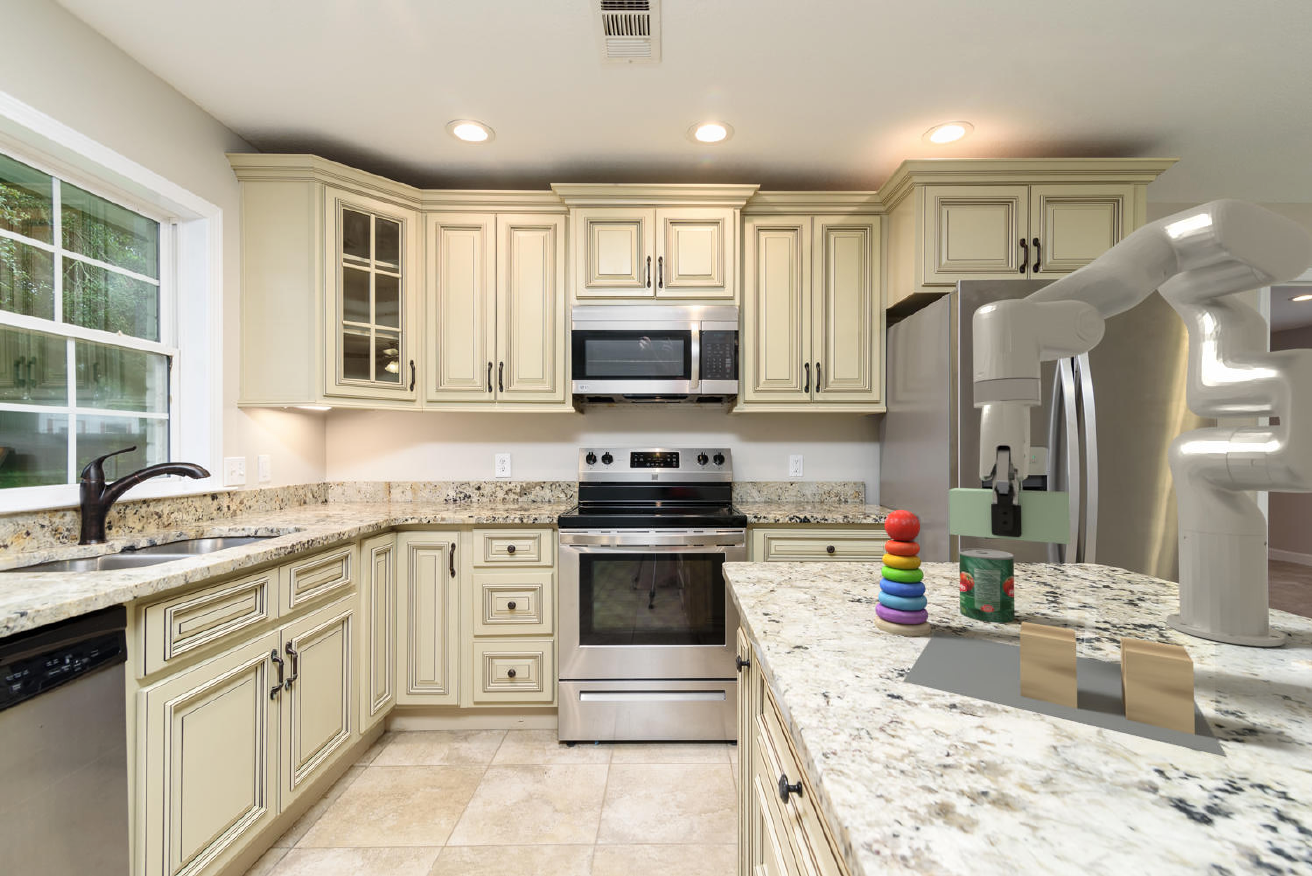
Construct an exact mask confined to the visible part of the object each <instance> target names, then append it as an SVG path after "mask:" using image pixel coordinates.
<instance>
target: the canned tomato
mask: <svg viewBox="0 0 1312 876" xmlns="http://www.w3.org/2000/svg"><path fill="white" fill-rule="evenodd" d="M958 553H959V555H958V556H959V557H958V563H959V565H958V567H959V575H958V577H959V614H960V615H962V616H963V617H965V618H969V619H972V620H975V621H980V622H986V623H994V624H995V623H997V624H1006V623H1012V622H1014V621H1015V619H1016V618H1015V613H1016V612H1015V611H1016V610H1015V606H1016V605H1015V563H1014V561H1015V560H1014V558H1015V556H1014V554H1012V553H1011V552H1007V551H1002V550H998V549H997V550H996V549H990V548H988V549H987V548H961V549H959V550H958Z"/></svg>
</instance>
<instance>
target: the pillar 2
mask: <svg viewBox="0 0 1312 876" xmlns="http://www.w3.org/2000/svg"><path fill="white" fill-rule="evenodd" d="M1120 664H1121V690H1122V704H1123V708H1124V712H1125V715H1126V719H1127V720H1131V721H1135V722H1140V723H1144V724H1149V725H1153V726H1158V727H1162V728H1167V729H1171V730H1176V731H1180V732H1185V733H1189V734H1194V735H1195V720H1194V700H1195V683H1194V682H1195V681H1194V678H1195V677H1194V661H1193V659H1192V657H1191V656H1190V655H1189V653H1188V652H1187V650H1186V648H1185V647H1184V646H1181V645H1174V644H1169V643H1163V642H1155V641H1150V640H1143V639H1135V638H1130V637H1124V636H1123V637H1122V636H1120Z"/></svg>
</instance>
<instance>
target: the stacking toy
mask: <svg viewBox="0 0 1312 876" xmlns="http://www.w3.org/2000/svg"><path fill="white" fill-rule="evenodd" d="M884 531H885V532H886V534H887V536H888V537H889V538H890V539H889V540H887V541H886V542H885V544H884V549H885V551H886V552H887V553H884V555H883V556H882V563H883V564H884V566H882V568H881V572H880V573H881V576H882V577H883V578H881V580H879V588H880V592H879V593H878V597H877V598H878V601H879V602H878V603H877V604H876V605H875V608H874V609H875V614H876V616H875V618H874V620H873V621H874V622H873V623H874V626H875V627H876V628H877V629H878V630H880V631H883V632H885V633H888V634H893V635H897V636H898V635H899V636H904V637H922V636H926V635H928V634H930V633H931V630H932V627H931V624H930V622H929V621H928V618H929V613H928V610H927V609H926V607H927V605H928V598H927V597H926V595H925V592H926V590H927V589H926V585H925V584H924V582H922V581H923V579H924V577H925V576H924V572H923V570H922V569H921V568H920V567H921V565H922V560H921V558H920V557H919V556H918V554H919V553H920V550H921V546H920V545H919V543H918V542H916V541H914V540H915V539H916V538H917V537H918V535H919V533H920V532H921V524H920V520H919V519H918V517H917V516H916V515H915V513H913V512H912V511H910V510H905V509H899V510H898V509H897V510H894V511H892V512H890V513H889V514H888V515H887V516H886V518H885V521H884Z"/></svg>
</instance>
